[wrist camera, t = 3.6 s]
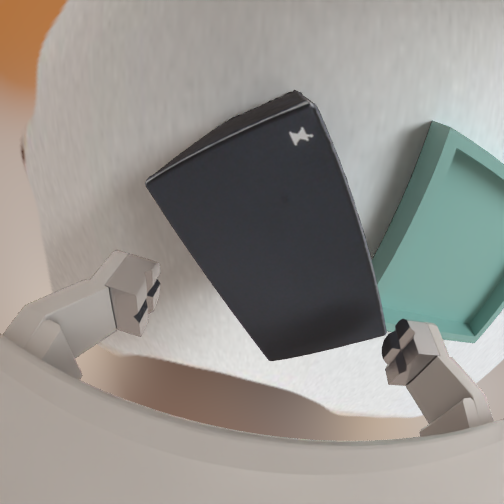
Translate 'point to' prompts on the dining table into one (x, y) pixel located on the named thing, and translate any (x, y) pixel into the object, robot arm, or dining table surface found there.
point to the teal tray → (446, 241)
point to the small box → (276, 229)
